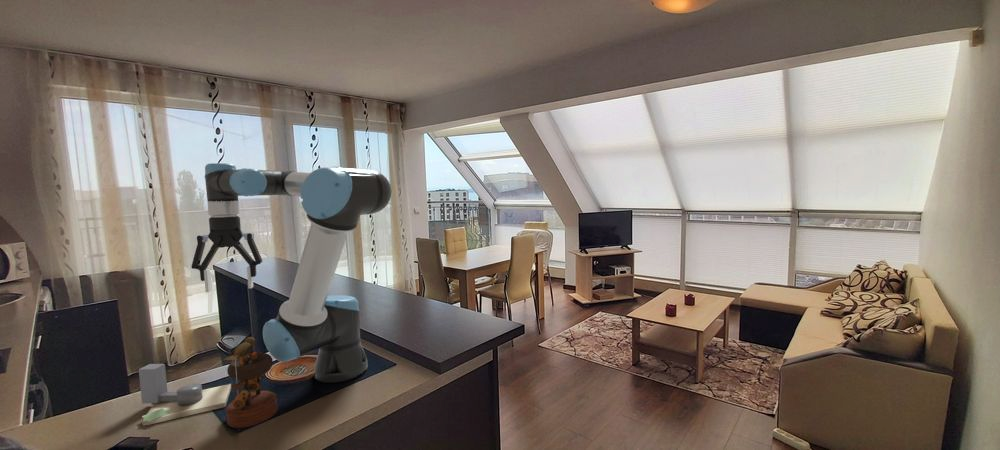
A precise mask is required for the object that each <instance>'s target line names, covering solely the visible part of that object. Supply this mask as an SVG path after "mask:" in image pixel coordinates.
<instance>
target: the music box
mask: <svg viewBox="0 0 1000 450" xmlns="http://www.w3.org/2000/svg"><path fill="white" fill-rule="evenodd" d="M256 343H257V342H256V338H254V336H249V337H246V338H245V339H244V341H243V342H242V343H240V344H238V345H236V347H235V348H233V350H232V351H231V352H230V353H229V356H227V357H226V358H224V359H223V361H224V362H226V361H228V362H230V363H229V365H228V366H227V375H228V376H229V378H231V379H232V380H235V381H237V382H235V384H233V385H231V388H232V392H237V394H236V395H235V398H234V399H233V400H232V401H231V402H230V403H229V404H228V405H226V407H225V408H226V409H225V414H226V424H227V425H228V426H229V427H231V428H237V429H238V428H239V429H240V428H249V427H251V426H255V425H258V424H260V423H263V422H265V421H267V420H268V419H270V418H271V417H273V416H274V415H275V414H276V413H277V410H278V399H277V394H275V392H273V391H269V390H261V383H260V382H261V381H262V380H263V379H264V378H265V376H264V375H265V374H267V373H268V372H269V371H270V370H271V368H272V366H273V364H274V361H273V356H272V355H271V354H270V353H269V354H268V353H266V352H256V351H253V350H254V349H255V345H256ZM252 351H253V352H252ZM251 352H252V353H251ZM242 388H243V389H242ZM240 389H242V390H240ZM239 390H240V392H239Z"/></svg>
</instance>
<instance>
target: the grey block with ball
mask: <svg viewBox="0 0 1000 450" xmlns="http://www.w3.org/2000/svg"><path fill="white" fill-rule="evenodd" d="M166 371H167V370H166V364H165V363H149V364H147V365H145V366H143V367H140V368H139V369H138V376H139V388H140V395H141V397H140V398H141V404H152V403H159V402H163V401H178V405H180V406H184V405H190V404H193V403H195V402H198V401H199V400H201V399H202V398H203V395H202V390H203V386H202V384H201V383H197V382H196V383H191V384H186V385H184V386H182V387H179V388H178V389H177V390H176V391H169V390H168V381H167V373H166Z"/></svg>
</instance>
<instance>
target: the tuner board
mask: <svg viewBox="0 0 1000 450" xmlns="http://www.w3.org/2000/svg"><path fill="white" fill-rule="evenodd" d="M231 390H232V383H228V384H223V385H219V386H215V387H209V388H205V389H202V395H203V398H202V399H201V400H199V401H198V402H195V403H193V404H190V405H184V406H180V405H178V401H163V402H159V403H150V405H151V408H150V409H149V410H148V412H147V413H146V414H145V415H142V416H141V418H143V419H142V426H143V427H145V425H146V426H149V425H152V424H157V423H162V422H167V421H170V420H174V419H179V418H184V417H188V416H192V415H196V414H201V413H205V412H209V411H213V410H214V411H215V410H219V409H223V408H226V407H227V403H228V400H229V396H230V393H231Z"/></svg>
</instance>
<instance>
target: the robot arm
mask: <svg viewBox="0 0 1000 450" xmlns="http://www.w3.org/2000/svg"><path fill="white" fill-rule="evenodd" d="M236 167H237V166H236V165H234V164H233V163H225V162H224V163H222V162H220V163H219V162H217V163H215V162H214V163H207V164H206V165H205V166H204V168H205V169H204V179H205V180H204V181H205V188H206V189H205V190H206V199H207V214H208V216H210V217H209V218H208V225H209V233H208V234H199V235H197V236H196V241H197V243H196V244H197V245H196V248H195V252H194V255H193V259H192V263H191V269H193V270H194V269H195V270H198V271H199V277H200V281H201V282H204V286H205V287H204V288H205V293H210V292H211V291H213V289H212V277H211V276H212V275H211V274H212V273H211V268H208V266H209V265H210V263H211V261H212V260H213V258H214V256H215V255H216V253H217V251H218V250H219V249H221V248H225V247H226V248H234V249H235V250H236V251H237V252H238V253H239V254H240V255H241V257H242V258H243V259H244V261H245V262H246V263H247V265H248V266H247V267H246V273H247V287H248V289H253V288H254V278H255V277H256V276H257V265H260V264H262V263H263V259H262V258H263V257H262V256H261V254H260V251H259V250H258V247H257V244H256V242H255V240H254V237H255V235H254V233H253V232H243V231H242V227H241V217H240V216H239V214H240V204H239V203H240V202H239V197H241V196H242V197H243V196H244V197H255V196H289V197H300V199H302V201H301V206H302V208H303V210H304V212H305V213H306V218H307V220H308V221H309V222H310V227H309V229H308V233H307V237H306V240H305V244H304V247H303V251H302V254H301V257H300V261H299V264H298V268H297V270H296V271H297V272H296V275H295V278H294V282H293V284H292V285H293V286H292V289H291V291H290V295H289V299H288V300H286V301H284V302H282V304H281V305H280V307H279V310H278V313H277V316H276V318H272V319H269V320H268V321H266V322H265V323H264V324H263V327H262V338H263V343H264V345H265V346H266V350H267V351H268V353H269V355H270V356H271V357H272V358H274V359H275V360H276V361H278V362H281V363H287V362H290V361H291V362H292V361H293V360H298V359H300V358H301V357H303V356H306V355H307V354H309V353H313V352H314V351H316V350H318V353H317V356H316V360H315V362H314V367H313V372H314V371H315V373H316V375H315V377H314V379H315V380H316V381H318V382H322V383H329V384H330V383H340V382H346V381H348V380H351V379H355V378H357V377H359V376H360V374H361V375H362V374H364V373H365V372H366V371H367V369H368V364H369V363H368V358H367V355H366V353H365V350H364V348H363V346H362V343H361V328H360V327H361V325H360V323H361V322H360V309H359V308H360V307H359V300H358V298H356V297H354V296H351V295H343V294H342V295H339V294H337V295H335V294H334V295H329V292H330V290H331V285H332V283H333V280H334V277H335V273H336V271H337V267H338V264H339V262H340V259H341V254H342V252H343V249H344V246H345V243H346V240H347V236H348V234H349V233H350V232H353V231H355V230H356V229H357V226H358V224H359V221H360V217H361V216H363V215H372V214H373V215H374V214H377V213H379V212H381V211H382V210H384V209H385V208H386V207H387V206H388V204H389V203H390V201H391V198H392V194H393V193H392V192H393V191H392V186H391V183H390V181H389V180H388V178H387V177H386V176H385V175H384V174H383V173H381V172H379V171H377V170H374V169H367V168H352V167H351V168H349V167H340V166H330V167H329V166H328V167H319V168H317V169H314V170H313V171H311V172H303V171H294V170H287V171H286V170H268V169H267V170H266V169H265V170H263V169H255V168H241V169H238V168H236ZM242 238H244V240H245V241H247V245H248V248H249V249H250V251H251V254H252V256H253V257H252V256H251V255H250V253H249V252H248V251H247V250H246V249H245V247H244V246H243V244H242V242H241V239H242ZM208 240H210V241H211V242H212V243H213V244H211V246H210V249H209V251H208V252H207V254H206V256H205V257H204V259H203V261H202V258H203V254H204V250H205V247H206V243H207V242H208ZM365 370H366V371H365ZM364 371H365V372H364ZM363 372H364V373H363ZM358 375H359V376H358Z"/></svg>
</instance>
